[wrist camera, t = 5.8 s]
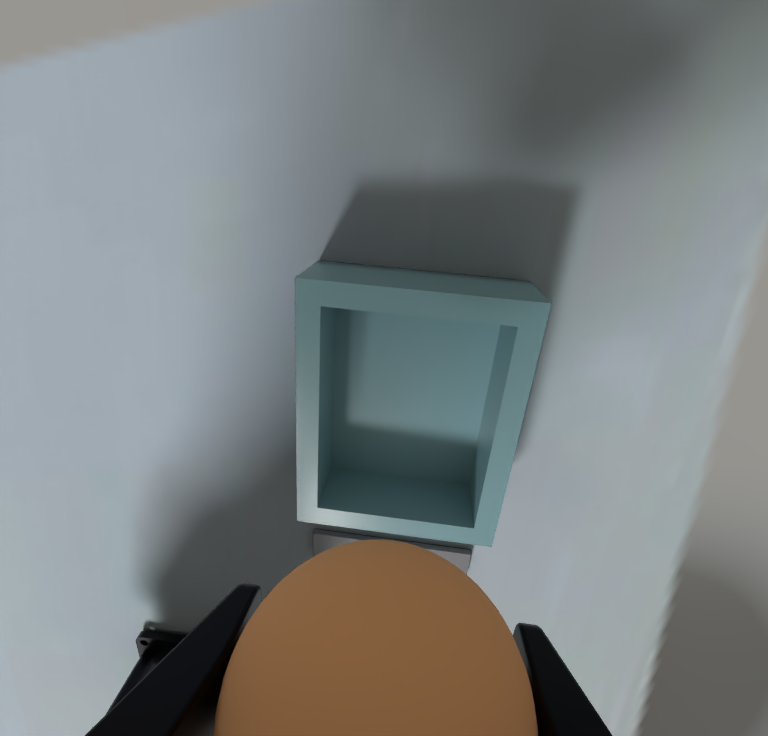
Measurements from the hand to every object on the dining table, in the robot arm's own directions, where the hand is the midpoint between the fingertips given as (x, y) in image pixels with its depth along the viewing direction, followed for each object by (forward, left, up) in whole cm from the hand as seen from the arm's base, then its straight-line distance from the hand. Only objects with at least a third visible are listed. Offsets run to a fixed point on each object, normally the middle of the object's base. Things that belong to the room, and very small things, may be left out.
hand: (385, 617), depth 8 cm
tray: (0, 0, -10) cm, 10 cm away
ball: (0, 0, +2) cm, 2 cm away
